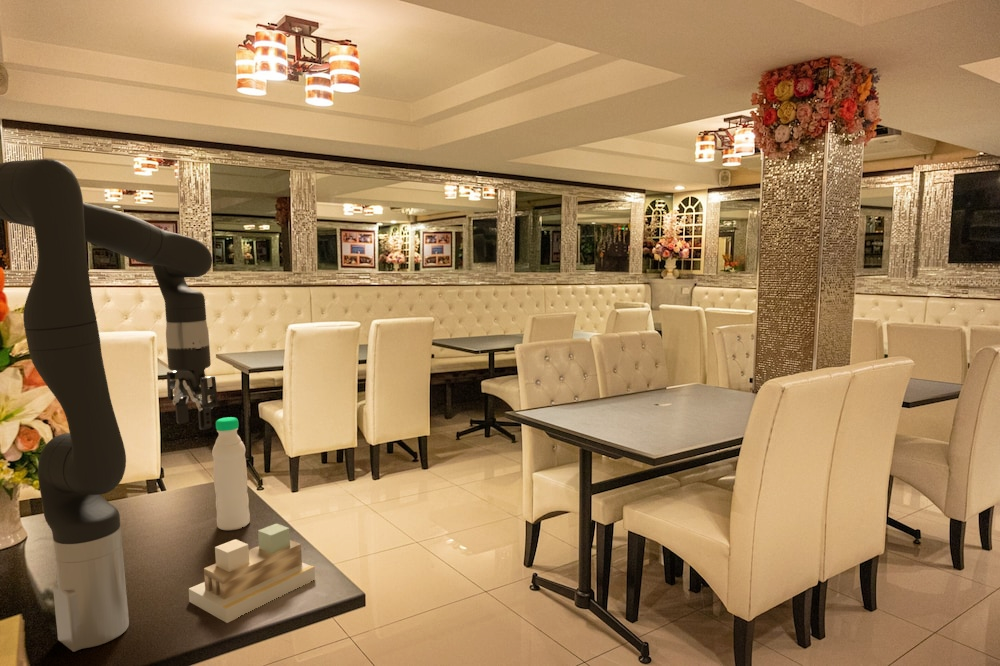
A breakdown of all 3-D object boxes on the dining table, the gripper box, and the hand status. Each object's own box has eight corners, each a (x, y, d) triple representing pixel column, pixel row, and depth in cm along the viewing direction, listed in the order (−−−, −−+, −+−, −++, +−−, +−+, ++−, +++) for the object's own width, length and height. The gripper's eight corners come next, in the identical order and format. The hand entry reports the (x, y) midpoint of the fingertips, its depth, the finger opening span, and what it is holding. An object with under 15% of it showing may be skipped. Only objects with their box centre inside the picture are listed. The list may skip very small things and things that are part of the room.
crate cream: (228, 571, 114) (227, 552, 114) (216, 565, 117) (214, 547, 116) (249, 563, 117) (248, 544, 117) (236, 557, 120) (235, 539, 119)
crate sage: (271, 553, 121) (270, 535, 121) (259, 548, 123) (257, 530, 123) (290, 545, 124) (289, 528, 124) (277, 540, 127) (276, 523, 126)
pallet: (224, 599, 113) (222, 577, 112) (205, 589, 116) (203, 568, 116) (301, 564, 125) (300, 544, 125) (282, 556, 129) (281, 536, 129)
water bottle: (217, 522, 153) (210, 416, 150) (250, 517, 156) (243, 413, 153) (216, 533, 146) (208, 424, 144) (250, 528, 149) (243, 420, 146)
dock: (227, 623, 110) (226, 608, 110) (189, 601, 117) (188, 588, 117) (315, 579, 124) (314, 566, 124) (276, 563, 131) (276, 551, 131)
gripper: (150, 344, 129) (157, 425, 131) (188, 349, 121) (194, 435, 122) (187, 340, 135) (193, 417, 137) (226, 344, 127) (231, 426, 128)
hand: (194, 425), depth 130 cm, fingers open, 8 cm apart
